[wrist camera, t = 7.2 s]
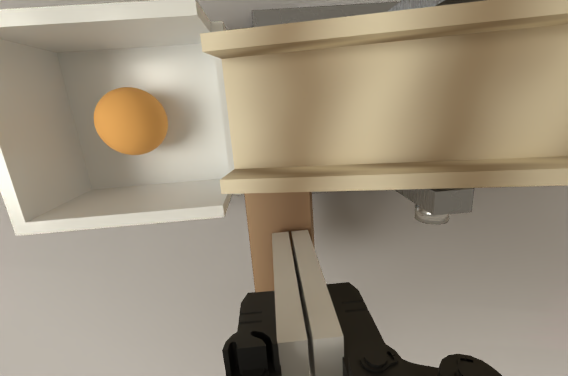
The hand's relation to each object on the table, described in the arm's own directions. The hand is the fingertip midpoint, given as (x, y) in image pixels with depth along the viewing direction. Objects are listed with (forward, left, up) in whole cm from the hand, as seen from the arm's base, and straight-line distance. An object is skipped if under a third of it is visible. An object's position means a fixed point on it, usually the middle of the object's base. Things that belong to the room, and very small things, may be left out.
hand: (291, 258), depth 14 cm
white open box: (-7, -8, -7) cm, 12 cm away
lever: (-4, +7, -1) cm, 8 cm away
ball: (-7, -6, -6) cm, 11 cm away
